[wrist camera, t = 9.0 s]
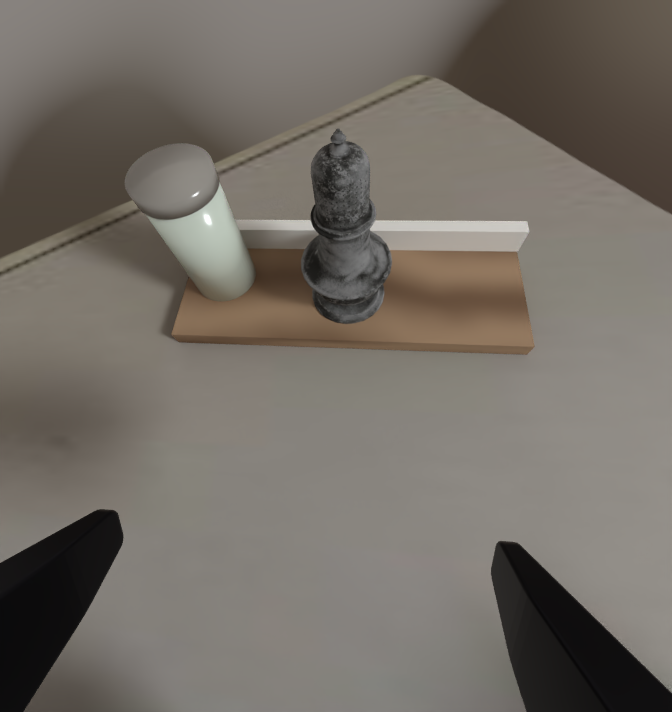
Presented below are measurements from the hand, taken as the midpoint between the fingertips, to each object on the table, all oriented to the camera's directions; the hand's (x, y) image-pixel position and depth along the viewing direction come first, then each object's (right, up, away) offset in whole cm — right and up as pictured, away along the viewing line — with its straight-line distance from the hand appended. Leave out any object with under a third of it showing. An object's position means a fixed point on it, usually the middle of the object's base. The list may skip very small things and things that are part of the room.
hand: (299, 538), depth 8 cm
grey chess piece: (+2, +9, +18) cm, 20 cm away
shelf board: (+2, +9, +19) cm, 21 cm away
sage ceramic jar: (-8, +10, +19) cm, 23 cm away
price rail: (+2, +13, +21) cm, 24 cm away
